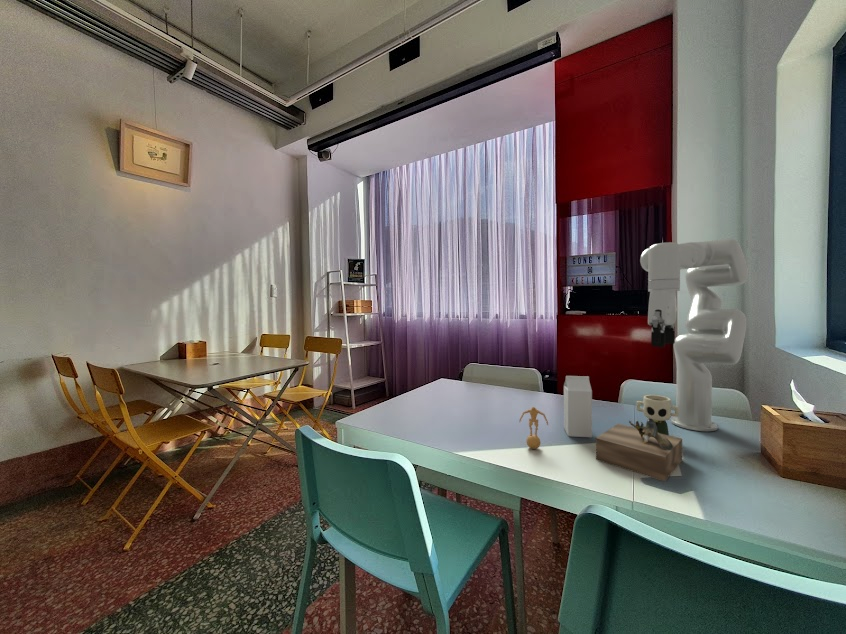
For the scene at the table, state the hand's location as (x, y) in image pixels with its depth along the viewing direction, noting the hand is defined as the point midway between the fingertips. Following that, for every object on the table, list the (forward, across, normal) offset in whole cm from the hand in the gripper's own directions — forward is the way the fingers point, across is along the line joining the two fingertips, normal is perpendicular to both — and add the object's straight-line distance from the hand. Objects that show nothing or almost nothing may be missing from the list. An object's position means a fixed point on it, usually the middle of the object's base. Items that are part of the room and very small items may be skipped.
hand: (663, 345), depth 100 cm
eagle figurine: (+24, +15, +1) cm, 29 cm away
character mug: (+31, -6, -3) cm, 31 cm away
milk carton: (+31, +7, -22) cm, 38 cm away
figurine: (+31, +27, -26) cm, 48 cm away
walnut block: (+30, +14, -2) cm, 33 cm away
